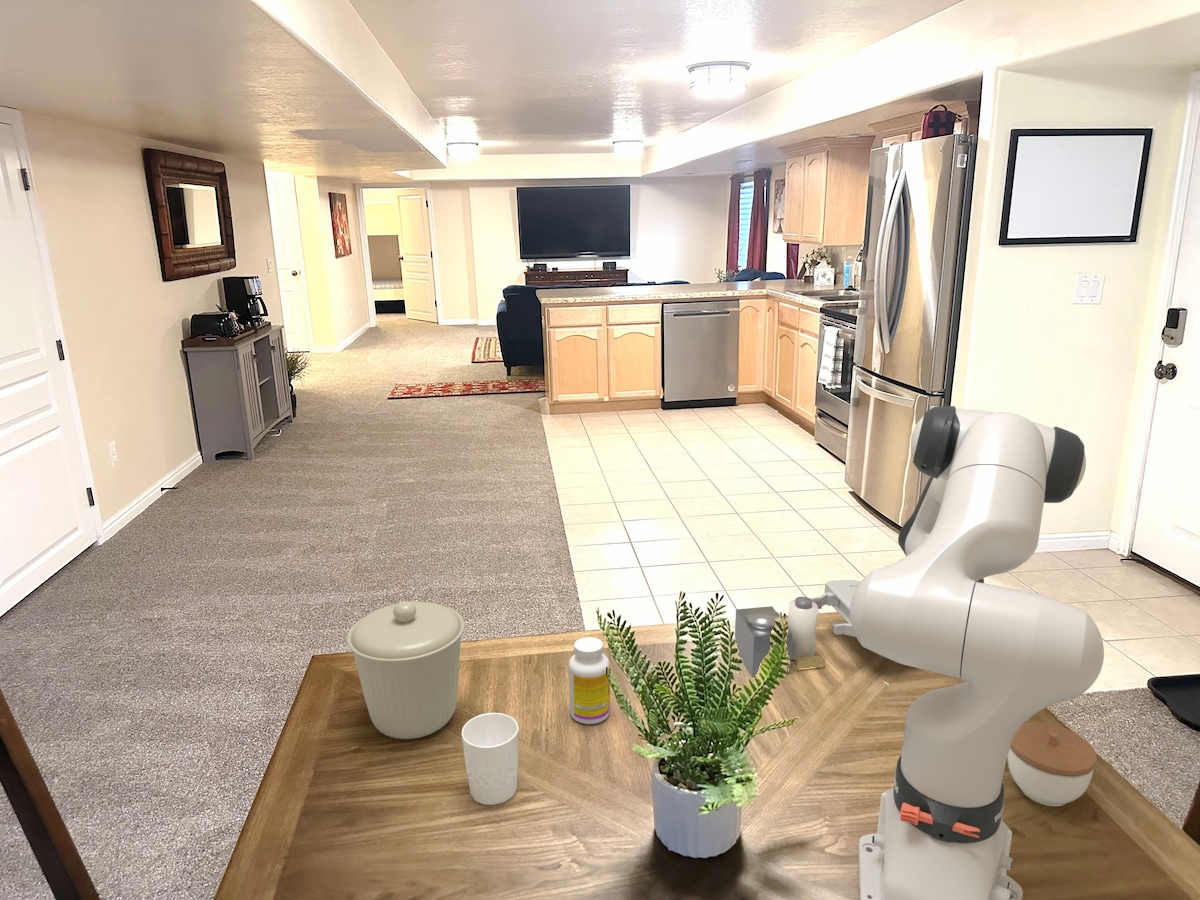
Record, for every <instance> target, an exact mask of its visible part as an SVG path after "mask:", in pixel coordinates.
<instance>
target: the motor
mask: <svg viewBox="0 0 1200 900" xmlns="http://www.w3.org/2000/svg"><path fill="white" fill-rule="evenodd" d="M779 616H781V615H780V613H779V612H778V611H776V609H774V606H773V605H771V606H761V607H749V608H739V609H738V608H737V609H735V626H734V639H735V638H736V643H737V647H738V649H739V654H738V657H739V658H740V657H741V658H742V659H743V661H742V663H743V664H744V666H745V668H746V669H747V672H748V673H749V674H750V676H751V675H752V676H751V677H752V678H753V676H755V675H756V674H757V672H758V669H759V666H760V663H761V662H762V660H763V658H764V657H765V656H766V655H767V654H768V652H769V650H770V633H771V631H772V629H773V627H774V625H775V619H778V618H779ZM786 644H787V650H788V655H789V657H790V660H791V661H792V659H791V648H792V632H791V630H790V629H789V628H788V635H787V641H786ZM741 658H740V659H741ZM742 659H741V660H742ZM791 661H790V664H789V665H788V666H787V673H786V674H789V673H788V668H789V672H790V673H791V663H792V662H791ZM824 664H825V657H824V656H823V655H822V654H820V655H814V656H809V657H799V658H795V660H794V668H795V667H796V669H800V668H810V667H820V666H821V667H822V666H823V668H824ZM796 669H795V670H796ZM755 677H756V676H755Z"/></svg>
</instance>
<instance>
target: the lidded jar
mask: <svg viewBox="0 0 1200 900" xmlns="http://www.w3.org/2000/svg"><path fill="white" fill-rule="evenodd" d="M1097 760H1098V756H1097V752H1096V750H1095V749H1094V747H1093V746H1092V745H1091V744H1090V743H1089V742H1088V740H1086V739H1085V738H1083V736H1080V735H1079V734H1077V732H1074V731H1072V730H1071V729H1068V728H1065V727H1063V726H1059V725H1057V724H1053V723H1049V722H1042V721H1026V722H1025V723H1024V724H1023V725H1022V726H1021V727H1020V728H1019V730H1018V731H1017V732H1016V734H1015V736H1014V738H1013V740H1012V743H1011V746H1010V749H1009V752H1008V756H1007V765H1008V770H1009V773H1010V775H1011V778H1012V779H1013V781H1014V782H1015V784H1016V785H1017V786H1018V787H1019V788H1020V790H1021V792H1022V793H1023V794H1024V796H1025V797H1027V798H1029V799H1030V800H1031V801H1034V802H1035V803H1038V804H1040V805H1043V806H1048V807H1062V806H1065V805H1066V804H1069V803H1071V802H1074V801H1076V800H1077V799H1079V798H1080V797H1082V796H1083V794H1084V793H1085V792H1086V791H1087V789H1088V788H1089V785H1090V784H1091V781H1092V778H1093V774H1094V772H1095V771H1094V770H1095V768H1096V765H1097Z"/></svg>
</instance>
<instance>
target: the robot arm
mask: <svg viewBox="0 0 1200 900" xmlns="http://www.w3.org/2000/svg"><path fill="white" fill-rule="evenodd" d="M910 451H911V456H912V463H913V465H914V466H915V467H916V469H917V470H918V472H921V474H924V475H926V476H928V477H929V478H928V480H927V482H926V485H925V486H924V489H923V490H922V493H921V495H920V497H919V500H918V502H917V503H916V506H915V507H914V508H915V509H914V510H913V513H912V514H911V515H910V517H909V518H908V519H907V520H906V522H905V523H904V524H903V526H902V527H901V529H900V531H899V534H898V538H897V541H898V542H897V543H898V546H899V547H900V549H901V550H902V552H903V553H904V555H905V556H904V557H902V558H901V559H900V560H897V561H896V562H893V563H891V564H889V565H886V566H883V567H880V568H876V569H874V570H873V571H871V572H870V573H869V574H867V575H866V576H865V577H864V578H863V579H862V580H854V579H853V580H852V579H851V580H849V579H848V580H847V579H843V580H842V579H840V580H839V579H837V580H829V581H827V582H826V583H825V584H824V585H825V586H824V593H823V594H821V595H819V596H813V597H811V598H810V599H811V600H812V602H814V603H816V604H817V606H818V610H822V609H823V607H824V606H827V607H828V606H829V607H832V608H833V609H834V610H835V611H836V612H837V613H838V614H839V615H840V617H841V618H842V619H843V620H845V622H846V623H844V622H843V621H841V620H839V621H833V622H832V623H831V631H832V632H833V633H834V634H835V635H837V636H838V635H846V636H851V637H855V638H856V639H857V641H858V642H859V643H860V645H861V646H862V648H865V649H866V650H868V651H871V652H873V653H875V654H877V655H879V656H881V657H883V658H886V659H889V660H890V661H893V662H895V663H898V664H899V665H904V666H907V667H911V668H912V667H913V668H916V669H920V670H925V671H928V672H932V673H936V674H940V675H944V676H948V677H952V678H957V679H960V680H962V681H963V682H960V683H957V684H953V685H948V686H943V687H938V688H935V689H931V690H929V691H926V692H925V693H924V694H921V696H918V697H917V698H916V699H915V700H914V701H913V702H912V703H911V704H910V705H909V707H908V709H907V711H906V714H905V719H904V729H903V730H904V731H903V739H902V748H901V749H902V750H901V754H900V756H899V757H898V758H897V759H898V760H897V762H896V766H895V770H894V774H893V787H891V788H890V789H888V790H885V791H884V792H882V793H881V796H880V803H879V805H880V806H879V811H878V812H879V814H878V822H877V830H876V833H869V834H864V835H862V836H861V837H860V838H859V842H858V846H857V849H858V850H857V852H858V853H857V855H858V856H857V857H858V882H859V884H858V885H859V886H858V887H859V888H860V894H859V900H1023V899H1024V898H1023V897H1024V895H1023V894H1024V891H1023V888H1022V886H1020V884H1019V883H1018V882H1017V881H1015V880H1014V879H1013V878H1012V877H1010V876H1009V875H1007V871H1011V869H1012V866H1013V857H1010V849H1011V843H1012V836H1013V831H1012V830H1011V829H1010V827H1009V826H1008V825H1007V824H1006V823H1005V821H1004V820H1003V818H1002V815H1003V813H1004V808H1005V801H1006V800H1005V786H1004V782H1003V779H1004V773H1005V768H1006V763H1007V761H1008V759H1007V756H1008V752H1009V749H1010V746H1011V743H1012V740H1013V738H1014V736H1015V734H1016V732H1017V731H1018V730H1019V728H1020V727H1021V726H1022V725H1023V724H1024V723H1025V722H1028V720H1029V719H1031V718H1032V717H1034V715H1036V714H1037V713H1039V712H1040V711H1042V710H1044V709H1046V708H1048V707H1050V706H1053V705H1055V704H1058V703H1061V702H1065V701H1069V700H1073V699H1075V698H1077V697H1079V696H1081V695H1083V694H1084V693H1086V691H1087V690H1089V689H1090V688H1091V687H1092V686H1093V684H1094V683H1095V682H1096V681H1097V679H1098V677H1099V676H1100V674H1101V673H1102V672H1101V671H1102V668H1103V665H1104V660H1105V659H1104V658H1105V646H1104V642H1103V638H1102V635H1101V632H1100V630H1099V628H1098V625H1097V624H1096V623H1095V620H1094V619H1093V618H1092V616H1090V614H1089V613H1088V612H1087V611H1086V610H1084V609H1081V608H1079V607H1076V606H1073V605H1072V604H1069V603H1066V602H1064V601H1061V600H1058V599H1055V598H1053V597H1049V596H1048V595H1047V596H1046V595H1044V594H1042V593H1041V594H1040V593H1036V592H1032V591H1031V592H1030V591H1025V590H1022V589H1021V590H1020V589H1016V588H1012V587H1011V588H1010V587H1005V586H1000V585H994V584H989V583H985V578H987V577H991V576H995V575H1000V574H1004V573H1008V572H1011V571H1013V570H1015V569H1017V568H1019V567H1020V566H1022V565H1023V564H1025V562H1027V561H1028V560H1030V559H1031V557H1032V556H1033V555H1034V553H1035V552H1036V550H1037V548H1038V546H1039V539H1040V532H1041V525H1042V524H1041V523H1042V518H1043V512H1044V504H1045V503H1047V504H1059V503H1062V502H1064V501H1066V500H1068V499H1069V498H1071V496H1072V495H1073V494H1074V492H1075V490H1076V489H1077V488H1078V487H1079V485H1080V484H1081V482H1082V481H1083V478H1084V476H1085V472H1086V467H1087V457H1086V452H1085V444H1084V442H1083V441H1082V439H1081V438H1080V437H1079V436H1078V434H1076V433H1073V432H1071V431H1069V430H1067V429H1064V428H1061V427H1059V426H1054V427H1050V426H1047V425H1044V424H1042V423H1041V424H1040V423H1037V422H1034V421H1031V420H1030V419H1028V418H1026V417H1024V416H1022V415H1020V414H1016V413H1012V412H1002V411H1001V412H993V411H986V410H977V409H963V408H956V406H953V405H938V406H934V407H931V408H930V409H928V410H926V411H924V414H923V415H922V416H921V418H920V419H919V420H918V421H917V423H916V425H915V426H914V429H913V431H912V434H911V438H910Z"/></svg>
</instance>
